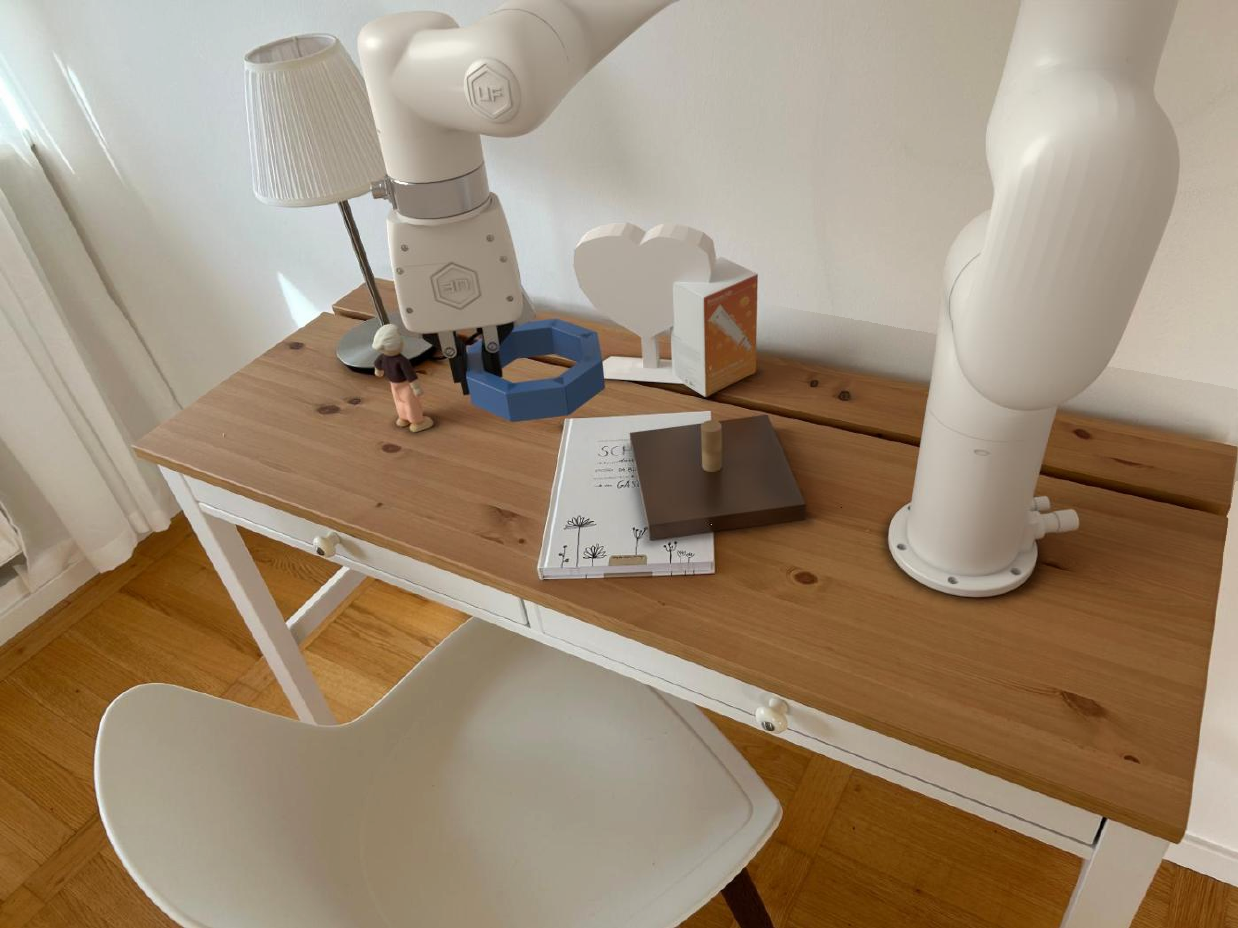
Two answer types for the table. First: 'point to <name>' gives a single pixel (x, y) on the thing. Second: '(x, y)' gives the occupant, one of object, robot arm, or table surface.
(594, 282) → the heart sculpture
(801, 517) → the platform
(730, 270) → the small box
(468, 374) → the ring
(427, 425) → the grandmother figurine
